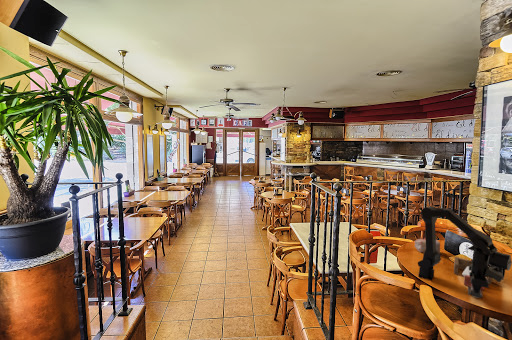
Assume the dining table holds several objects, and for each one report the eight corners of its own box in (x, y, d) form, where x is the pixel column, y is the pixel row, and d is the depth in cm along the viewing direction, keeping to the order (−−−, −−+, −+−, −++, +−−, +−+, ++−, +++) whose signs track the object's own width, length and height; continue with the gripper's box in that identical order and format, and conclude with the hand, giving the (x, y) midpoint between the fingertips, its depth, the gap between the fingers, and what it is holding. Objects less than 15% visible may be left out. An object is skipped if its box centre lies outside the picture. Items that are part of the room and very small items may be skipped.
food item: (419, 253, 176) (420, 239, 175) (413, 248, 184) (414, 235, 182) (440, 254, 174) (442, 240, 173) (433, 249, 182) (435, 236, 181)
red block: (465, 295, 128) (467, 280, 127) (463, 283, 139) (465, 269, 138) (486, 301, 124) (488, 286, 123) (483, 288, 135) (485, 274, 134)
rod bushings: (468, 294, 130) (468, 291, 130) (467, 288, 135) (468, 286, 134) (482, 298, 127) (482, 295, 127) (480, 292, 132) (481, 289, 131)
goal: (454, 274, 149) (455, 264, 149) (453, 266, 159) (455, 256, 158) (491, 283, 140) (492, 273, 139) (488, 274, 149) (490, 264, 148)
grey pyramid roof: (458, 280, 144) (468, 272, 137) (461, 268, 149) (471, 259, 142) (476, 290, 140) (487, 282, 133) (478, 277, 145) (489, 269, 138)
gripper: (506, 274, 113) (501, 308, 115) (499, 258, 128) (495, 288, 130) (473, 266, 119) (469, 298, 121) (470, 252, 134) (467, 281, 136)
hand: (476, 291), depth 127 cm, fingers closed on red block, 3 cm apart
